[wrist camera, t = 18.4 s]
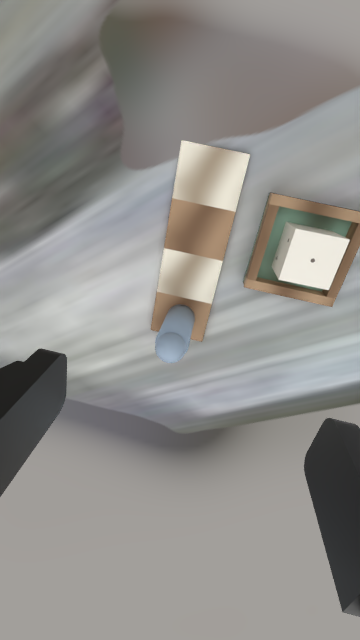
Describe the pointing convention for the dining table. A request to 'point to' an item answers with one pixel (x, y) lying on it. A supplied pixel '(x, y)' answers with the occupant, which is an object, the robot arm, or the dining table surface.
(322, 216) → the tray
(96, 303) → the dining table surface
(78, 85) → the dining table surface
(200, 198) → the board
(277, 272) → the die
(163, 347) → the pale blue capsule
